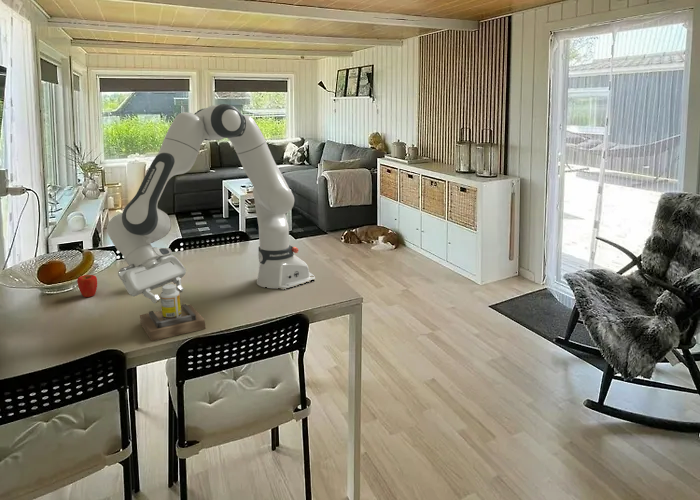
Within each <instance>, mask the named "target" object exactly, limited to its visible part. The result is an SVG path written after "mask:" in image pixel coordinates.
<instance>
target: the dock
mask: <svg viewBox="0 0 700 500" xmlns="http://www.w3.org/2000/svg"><path fill="white" fill-rule="evenodd" d="M139 320H140V321H139V322H140V325H141V327H142V328H143V330H144V332H145V333H146V335H147V336H148V339H149V340H150V342H154V341H158V340H163V339H167V338H171V337H176V336H180V335H185V334H189V333H193V332H196V331H197V332H198V331H201V330H205V329H206V320H205V318H204V317H203V316H202V315H201V314H200V313H199V312H198V311H197V310H196V309H195V308H194V306H193V305H192V304H186V303H185V304H181V317H178V318H174V319H169V320H165V319H164V318H163V316H162V310H159V311H157V310H156V311H153V310H151V311H150V310H149V311H148V313H143V314H139Z"/></svg>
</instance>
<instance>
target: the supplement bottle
mask: <svg viewBox="0 0 700 500" xmlns="http://www.w3.org/2000/svg"><path fill="white" fill-rule="evenodd" d="M161 288H162V289H161V293H160V295H159V296H160V297H159V298H160V304H161V305H160V306H161V311H162V316H163V318H164V319H165V320H169V319H174V318H178V317H181V306H182V304H181V298H180V297H181V296H180V293H179V291H177V290H176V288H177V286H176V284H174V283H170V284H169V283H168V284H165V285H163V286H161Z"/></svg>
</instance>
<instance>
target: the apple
mask: <svg viewBox="0 0 700 500" xmlns="http://www.w3.org/2000/svg"><path fill="white" fill-rule="evenodd" d="M76 284H77V287H78V289H79V292H80V294H81V295H82V297H84V298H90V297H94V296H96V293H97V288H98V278H97V276H96V275H94V274H84V275H81V276H78V278H77V279H76Z"/></svg>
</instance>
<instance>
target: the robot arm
mask: <svg viewBox="0 0 700 500" xmlns="http://www.w3.org/2000/svg"><path fill="white" fill-rule="evenodd" d="M224 139H227V140H229V142H231V145H232V146H233V148H234V151H235V152H236V153H235V154H236V155H237V157H238V160H239V161H240V164H241V166H242V169H243V170H244V173H245V174H246V176H247V178H248V179H249V181H250V183H251V184H252V186H253V187H252V195H253V200H254V207H255V213H256V218H257V219H256V220H257V224H258V226H257V227H258V238H259V239H258V241H259V242H258V243H259V244H258V245H259V246H258V255H257V256H258V262H259V267H258V268H259V269H258V274H257V279H256V284H257V285H258V286H259V287H262V288H265V287H267V288H266V289H278V288H283V289H282V290H284V289H285V290H287V289H286V288H289V287H292V286H295V285H298V284H301V283H304V282H306V281H309V280H312V279H315V280H316V277H315V275H314V274H313V273H312V272H310V268H309V265H308V264H307V263H306V261H304V260H303V259H301V258H300V257H299V256H297V255H296V254H298V252H299V248H298V247H296V246H293V245H290V226H289V223H288V220H287V215H286V214H287V213H289V212H290V211H291V210H293V208H294V205H295V196H294V194H293V192H292V190H291V189H290V187H289V184H288V183H287V181H286V179H285V177H284V176H283V174H282V172H281V170H280V169H279V167H278V164H277V163H276V161H275V159H274V157H273V155H272V152H271V150H270V148H269V146H268V145H269V144H267V141H266V139H265V136H264V134H263V133H262V131H261V129H260V127H259V126H258V124H257V122H256V121H255V120H254V118H253V117H252V116H250V115H247V114H242V112H241V111H240V110H239V109H238V108H237V107H235V106H234V105H231V104H225V103H222V104H221V103H220V104H214V105H210V106H208V107H205V108H201V109H199V110H197V111H196V112H195V113H193V112H187V111H186V112H184V111H183V112H180V113H178V114H177V115H176V116H175V118H174V119H173V121H172V123H171V124H170V126H169V127H168V130H167V132H166V134H165V136H164V139H163V142H162V143H161V146H160V148H159V151H158V153H157V155H156V156H155V157H154V159H153V160H152V162H151V163H150V166H149V167H148V169H147V171H146V173H145V176H144V178H143V180H142V182H141V184H140V186H139V188H138V190H137V192H136V194H135V195H134V197H133V198H132V199H131V200H130V201H129V202H128V203H127V204H126V206H125V207H124V209H123V210H122V213H118V214H116V215H114V216H113V217H112V218H111V219H110V220H109V221H108V223H107V226H106V233H107V235H108V237H109V239H110V240H111V242H112V244H113V246H114V247H115V248H116V250H117V252H120V253H121V254H122V256H123V259H124V261H125V263H126V264H127V266H125V267H121V268H120V269H119V270H118V272H117V276H118V278H119V279H120V280H121V282H122V284H123V286H124V288H125V290H126V291H127V293H128V294H129V295H130V296H131V297H137V296H138V295H139V296H140V295H143V296H144V297H145V298H147V299H149V300H150V301H152V303H153V304H156V303H158V302H160V301H161V298H160V297H159V295H158V294H154V293H152V292H151V291H152V290H155V289H157V288H160V287H163V286H164V285H168V284H169V283H170V284H171V283H172V282H173V283H172V284H174V285H176V290H177V291H179V294H180V293H183V292H184V291H185V288H184V287H183V286H182V278H183V277H184V276H185V274H186V273H187V270H186V267H185V266H184V265H183V263H182V261H180V260H179V259H178V257H177V256H175V255H173V254H172V253H173V251H172V250H171V248H169V247H156V246H155V247H153V246H152V244H153V243H155V242H157V241H158V240H162V238H164V237H166V236H167V235H168V234H169V233H170V231H171V228H172V221H171V218H170V216H169V215H168V214H167V212H165V211H163V210H161V208H159V207H158V203H159V201H160V199H161V196H162V194H163V192H164V190H165V187H166V185H167V184H168V182H169V180H171V178H172V177H175V176H177V175H183V174H186V173H188V172H190V171H191V169H192V168H193V166H194V165H195V162H196V161H197V157H199V156H198V155H199V152H200V150H201V146H202V144H203V143H204V141H221V140H224ZM294 253H295V254H294ZM310 276H314V277H310Z"/></svg>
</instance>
